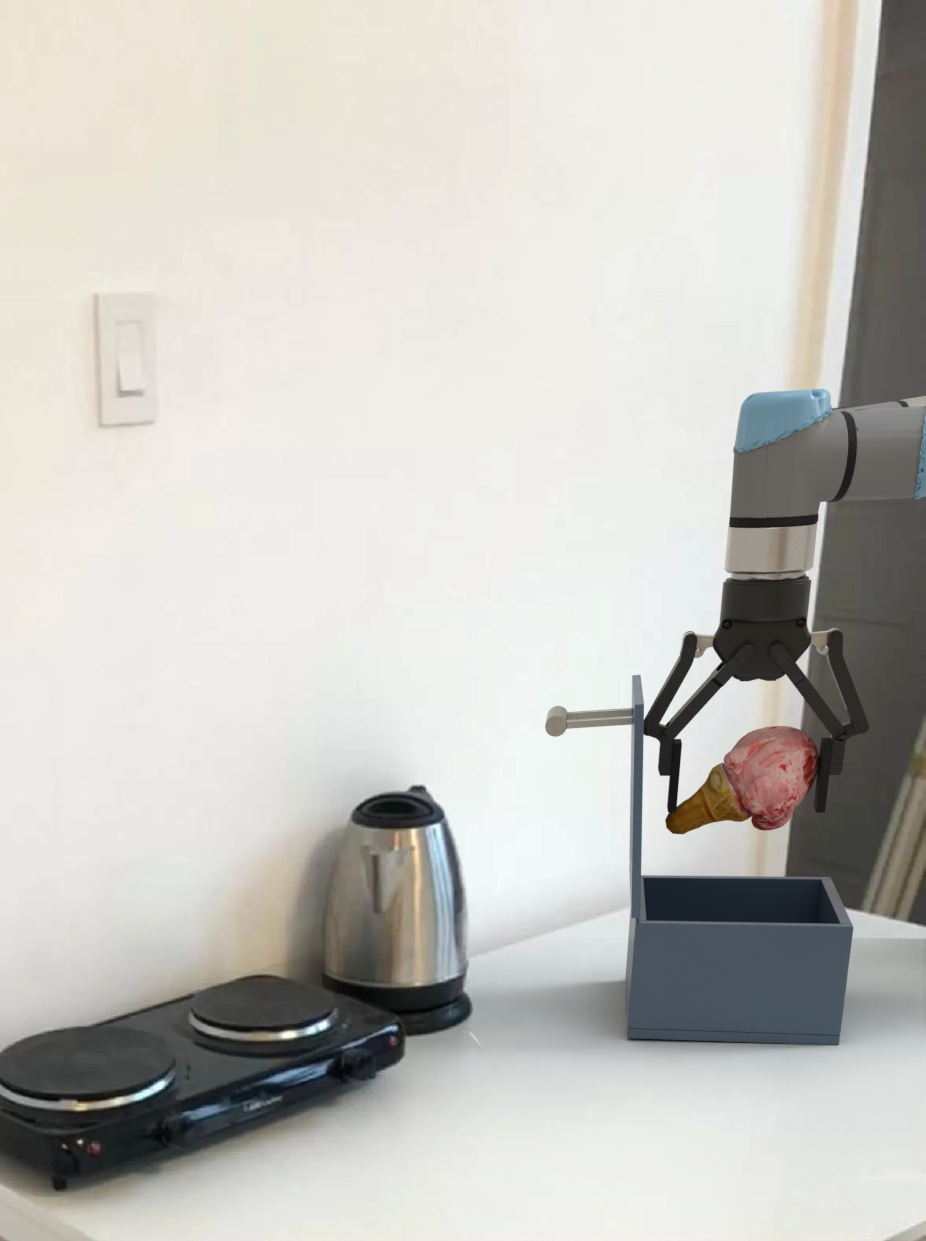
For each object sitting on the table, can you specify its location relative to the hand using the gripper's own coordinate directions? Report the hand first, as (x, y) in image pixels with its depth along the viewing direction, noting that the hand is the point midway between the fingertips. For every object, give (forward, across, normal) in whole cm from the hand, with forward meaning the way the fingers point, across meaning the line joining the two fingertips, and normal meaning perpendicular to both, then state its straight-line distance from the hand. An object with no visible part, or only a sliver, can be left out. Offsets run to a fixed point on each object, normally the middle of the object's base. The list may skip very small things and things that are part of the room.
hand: (744, 809), depth 170 cm
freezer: (+20, 0, 0) cm, 20 cm away
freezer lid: (-2, +10, 0) cm, 10 cm away
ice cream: (+2, 0, 0) cm, 2 cm away
